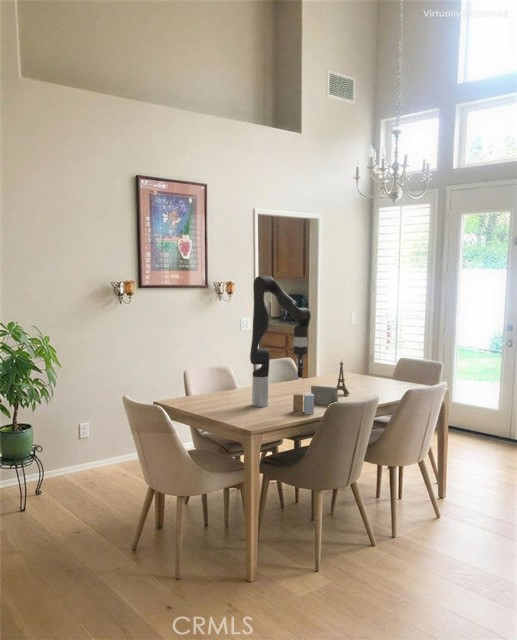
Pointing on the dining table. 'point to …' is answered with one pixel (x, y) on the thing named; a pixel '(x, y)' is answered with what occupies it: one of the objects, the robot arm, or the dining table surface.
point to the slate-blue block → (309, 403)
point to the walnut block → (298, 403)
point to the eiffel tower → (342, 382)
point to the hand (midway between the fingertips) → (299, 376)
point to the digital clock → (324, 395)
